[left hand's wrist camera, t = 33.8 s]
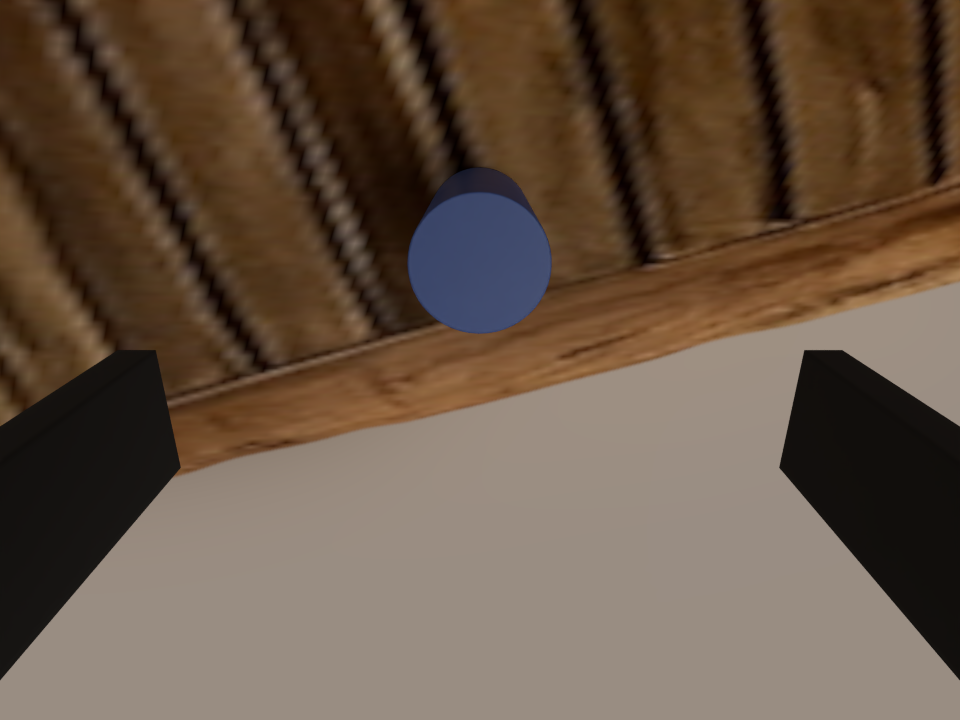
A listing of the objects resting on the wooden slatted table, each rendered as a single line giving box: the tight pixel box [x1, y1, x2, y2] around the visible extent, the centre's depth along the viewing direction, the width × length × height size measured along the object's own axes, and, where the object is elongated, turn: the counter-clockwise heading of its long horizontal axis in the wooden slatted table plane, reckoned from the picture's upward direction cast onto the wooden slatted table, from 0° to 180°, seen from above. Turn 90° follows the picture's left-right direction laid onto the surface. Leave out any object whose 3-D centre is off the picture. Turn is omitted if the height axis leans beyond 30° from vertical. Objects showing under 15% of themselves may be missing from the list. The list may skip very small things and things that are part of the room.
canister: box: [408, 168, 551, 334], centre depth 31 cm, size 6×6×12 cm
